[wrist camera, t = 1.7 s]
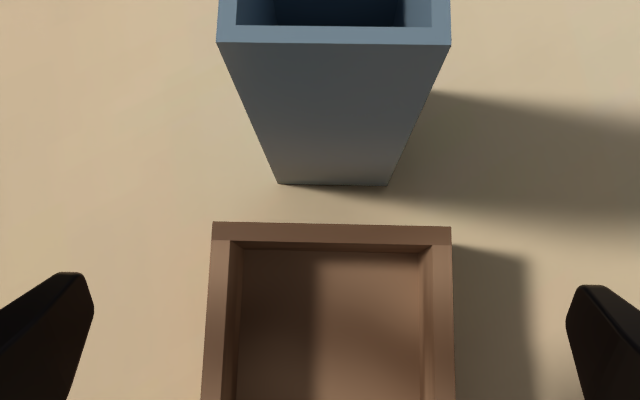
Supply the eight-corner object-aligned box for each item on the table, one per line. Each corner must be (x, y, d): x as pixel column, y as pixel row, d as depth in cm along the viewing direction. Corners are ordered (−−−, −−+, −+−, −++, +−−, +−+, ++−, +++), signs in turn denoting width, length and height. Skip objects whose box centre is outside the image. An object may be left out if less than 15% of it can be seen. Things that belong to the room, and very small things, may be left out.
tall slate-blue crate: (386, 186, 24) (451, 45, 11) (277, 183, 24) (216, 42, 11) (386, 83, 25) (445, -155, 12) (282, 82, 25) (229, -155, 12)
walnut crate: (434, 455, 21) (457, 488, 17) (219, 447, 22) (195, 479, 18) (430, 240, 23) (450, 226, 19) (232, 235, 23) (212, 221, 19)
